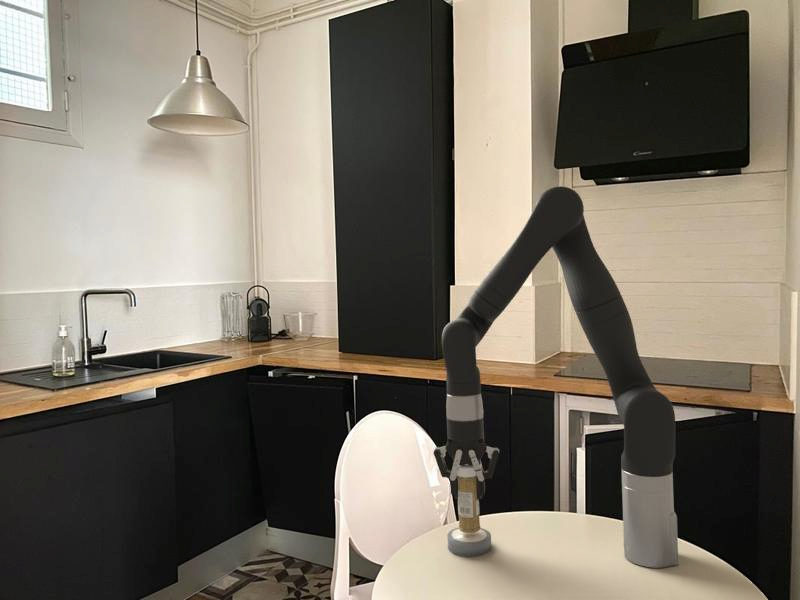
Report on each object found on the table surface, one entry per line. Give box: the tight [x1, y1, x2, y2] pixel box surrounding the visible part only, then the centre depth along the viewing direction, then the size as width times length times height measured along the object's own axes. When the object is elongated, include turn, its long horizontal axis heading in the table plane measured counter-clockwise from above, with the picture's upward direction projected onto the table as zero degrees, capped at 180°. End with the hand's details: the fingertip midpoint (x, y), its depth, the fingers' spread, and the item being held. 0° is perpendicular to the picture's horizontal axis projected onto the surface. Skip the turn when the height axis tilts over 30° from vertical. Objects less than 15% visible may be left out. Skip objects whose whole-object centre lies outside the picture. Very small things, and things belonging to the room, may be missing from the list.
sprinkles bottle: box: [457, 464, 481, 533], centre depth 127 cm, size 5×5×14 cm
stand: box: [446, 527, 492, 558], centre depth 127 cm, size 9×9×3 cm
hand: (468, 497), depth 127 cm, fingers closed on sprinkles bottle, 4 cm apart
